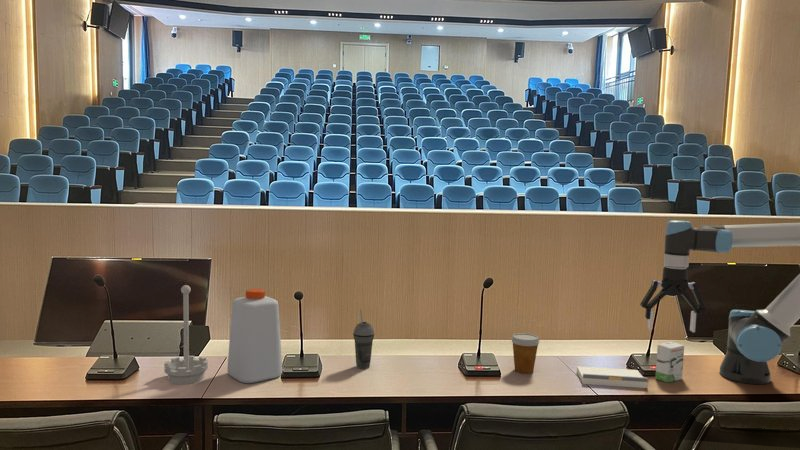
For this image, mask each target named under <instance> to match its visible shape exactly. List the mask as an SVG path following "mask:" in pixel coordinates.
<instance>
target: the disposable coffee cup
mask: <svg viewBox="0 0 800 450" xmlns="http://www.w3.org/2000/svg"><path fill="white" fill-rule="evenodd" d="M511 342H512V350H513V363H514V371H515V372H517V373H520V374H532V373H534V369H535V365H536V357H537V353H538V348H539V347H538V346H539V344H540V339H539V336H538V335H536V334H533V333H526V332H522V333H520V332H517V333H514V334H513V335H512V337H511Z"/></svg>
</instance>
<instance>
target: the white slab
mask: <svg viewBox="0 0 800 450" xmlns="http://www.w3.org/2000/svg"><path fill="white" fill-rule="evenodd" d="M576 373H577V376H578V377H579V379H580V381H581V383H582V384H583V385H594V386H607V387H611V386H612V387H623V388H627V387H628V388H637V389H638V388H639V389H648V380H649V378H648V377H645V376H643V375H642V373H640V371H639V370H638V369H628V368H627V369H626V368H624V369H623V368H610V367H609V368H608V367H597V366H596V367H595V366H594V367H592V366H579V365H578V366H576Z"/></svg>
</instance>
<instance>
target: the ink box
mask: <svg viewBox="0 0 800 450" xmlns="http://www.w3.org/2000/svg"><path fill="white" fill-rule="evenodd" d="M656 346H657V349H656V361H655V363H656V365H655V366H656V367H655V380H658V381H662V382H665V383H668V384H669V383H672V382H675V381H680V380H682V379H683V373H684V372H683V370H684V369H683V368H684V357H685V356H684V354H685V345H684V344H680V343H677V342H676V341H675V342H674V341H667V342H663V343H658V344H657V345H656Z"/></svg>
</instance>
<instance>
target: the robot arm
mask: <svg viewBox="0 0 800 450" xmlns="http://www.w3.org/2000/svg"><path fill="white" fill-rule="evenodd" d="M666 223H667V224H666V228H665V229H666V230H665V237H664V238H665V239H664V254H663V255H664V256H663V265H664V267H663V268H662V278H661V279H662V280H661V281H659V280H657V279H653V280H652V281H651V285H650V288H649V289H648V291H647V292H646V294H645V295H644V297H643V298H642V300H641V302H640V304H639V306H640V307H641V308H643V309H645V316H644V317H645V319H647V327H646V328H647V329H648V330H650V331H651V330H653V325H654V310H653V309H654V307H655V306H656V305H657V304H658V303H659V302H660V301H662V299H663V298H664V297H666V296H667V295H668V296H682V297H683V298H684V300H685V301H686V302H687V304H688V305H689V306H690V307H691V308H692V309H693V310H691V311H690V320H689V322H690V323H689V331H690V332H692V333H696V325H697V324H696V323H699V321H700V314H701V313H702V312H706V311H707V308H706V305H705V303H704V301H703V299H702V297H701V295H700V292H699V290H698V283H696V282H694V281H692V282H688V277H689V276H688V274H689V270H688V268H689V264H690V251H694V252H695V251H698V252H699V251H700V252H710V253H711V252H712V253H717V254H720V253H723V254H725V253H730V252H731V250H732V249H733V248H747V247H748V248H750V247H751V248H752V247H800V222H785V223H781V222H780V223H754V224H753V223H752V224H729V225H728V224H724V225H710V224H703V225H701V226H699V227H694V226H693V224H692V222H691V221H688V220H677V219H674V220H668V222H666ZM660 286H661V287H662V289H660V291H659V292H658V293H657V294H656V295H655V296H654V294H655V293H656V291H657V289H659V287H660ZM687 288H689V289H690V290H691V292H692V294H693V297H694V299H695V301H696V303H695V302H694V300H693V299H692V298H691V297H690V296H689V294H688V293H687V291H686V290H687ZM661 292H662V293H661ZM660 294H661V295H660ZM653 296H654V297H653ZM659 296H660V298H659ZM652 297H653V298H652ZM658 300H659V302H658ZM696 304H697V305H696ZM799 319H800V273H799V274H798V275H797V276H795V278H794V279H792V281H790V283H789V284H788V285H787V286H786V287H785V288H784V289H783V290H782V291H781V292H780V293H779V294H778V295H777V296H776V297H775V298H774V300H772V302H770V303H769V304H768V305H767V307H766V308H765V309H764V308H763V309H756V310H746V309H732V310H730V312H729V315H728V330H727V331H728V332H727V343H726V344H727V346H726V347H727V348H726V352H725V355H724V357H723V360H722V361H721V364H720V366H719V375H721V376H722V377H724V378H726V379H728V380H731V381H735V382H738V383H744V384H750V385H767V384H769V383H770V382H771V377H772V376H771V375H772V374H771V371H770V368H769V363H768V361H772V360H774V359H775V358H776V357H778V355H779V354H780V353H781V349H782V345H783V344H784V343H785V342H786V340H788V339H789V338H790V337H791V328H792V327H793V326H794V325H795V323H797V322H798V321H799Z"/></svg>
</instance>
